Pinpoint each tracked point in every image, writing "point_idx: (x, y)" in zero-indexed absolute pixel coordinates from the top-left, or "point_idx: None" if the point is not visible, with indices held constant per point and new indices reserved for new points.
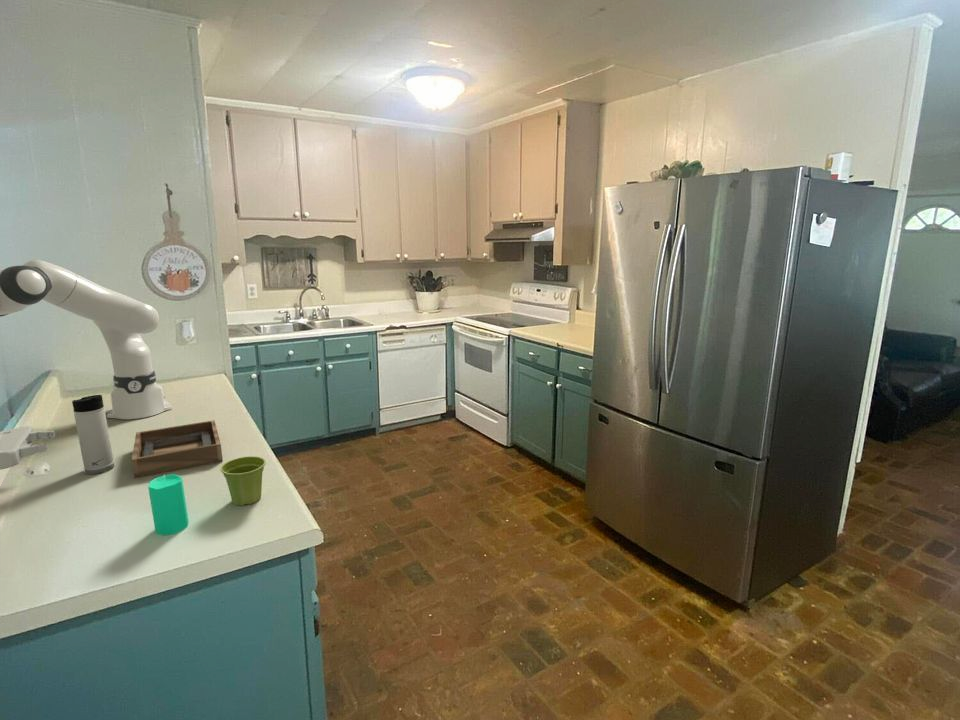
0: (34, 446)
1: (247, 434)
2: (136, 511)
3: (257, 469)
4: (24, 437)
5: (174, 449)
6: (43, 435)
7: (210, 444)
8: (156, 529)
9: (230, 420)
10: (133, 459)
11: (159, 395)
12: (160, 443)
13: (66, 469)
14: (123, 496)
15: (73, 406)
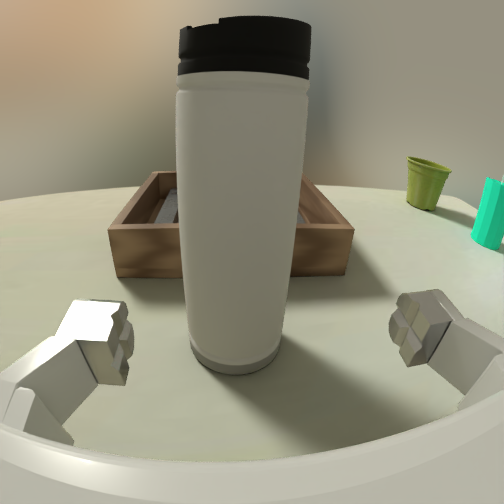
0: (473, 322)
1: None
2: (467, 264)
3: (436, 163)
4: (307, 457)
5: None
6: (76, 372)
7: None
8: (499, 244)
9: (91, 196)
10: (351, 227)
11: None
12: None
13: (163, 436)
14: (427, 281)
15: (280, 43)
